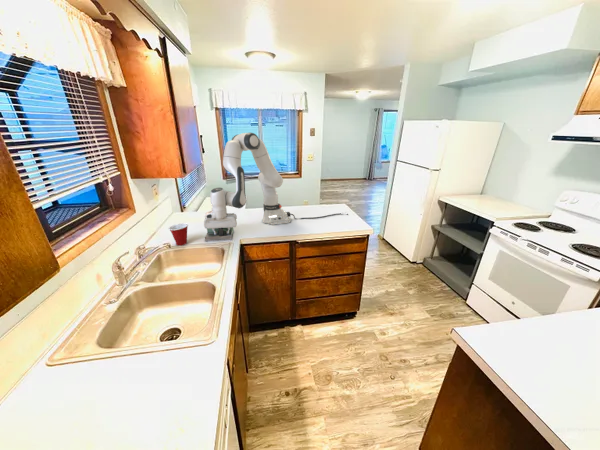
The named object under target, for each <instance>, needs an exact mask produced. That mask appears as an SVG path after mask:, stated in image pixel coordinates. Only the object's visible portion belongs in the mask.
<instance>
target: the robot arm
mask: <svg viewBox="0 0 600 450" xmlns="http://www.w3.org/2000/svg"><path fill="white" fill-rule="evenodd" d="M247 151H250V152H251V155H252V158H253V160H254V163H255V166H256V167H257V169H258V170H259V171H260V172H259V173H258V176H257V178H258V181H259V183H260V187H261V190H262V195H263V203H262V205H263V206H262V210H263V217H262V222H263V223H264V224H268V225H271V226H273V225H281V224H282V225H283V224H289V223H291V221H292V219H291V218H290V217H291V216H293V219H295V220H297V218H296V216H295V214H293V213H291V212H290V211H286V210H284V209H283V208H282V207H283V206H282V204H280V203H279V194H278V191H277V189H276V188H280V187H281V186H282V185H283V183H284V179H283V177H282V175H281V174H280V173H279V171H278V170H277V169H276V167H275V165H274V163H273V161H272V159H271V156H270V154H269V152H268V151H269V150H268V148H267V147H266V145H265V143H264V141H263V140H262V139H261V138H259V136H258V135H257V134H256V133H254V132H242V133H239V134H235V135H234V136H233V137H232V138H231V140H228V141H227V142H226V143H225V146H224V151H223V158H222V166H223V167H224V169H225V170H226V171H227V172H229V173H230V174H231V175H233V177H234V178H235V191H231V190H226V189H224V188H223V187H215V188H212V189H211V191H210V195H209V196H210V205H211V210H209V211H207V212H206V213H205V214H204V221H203V227H204V229H206V230H207V229H208V228H212V230H213V231H214V234H217V231H215V228H228V230H227V231H226V233H227V234H229V230H230V227H233V228H237V226H238V221H237V219H238V215H237V213H235V212H231V213H228V210H227V207H232V208H235V209H242V208H243V207H244V206H245V205H246V203H247V196H246V178H245V177H246V176H245V169H244V168H243V166H242V153H243V152H247ZM341 213H342V212H341ZM341 213H339V212H338V213H332V214H327V215H322V216H316V217H300V218H299V220H304V219H306V220H307V219H310V220H311V219H320V218H326V217H331V216H336V215H342V214H341ZM346 215H347V216H349V214H348V213H347V214H346Z"/></svg>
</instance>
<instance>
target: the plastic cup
mask: <svg viewBox="0 0 600 450" xmlns="http://www.w3.org/2000/svg"><path fill="white" fill-rule="evenodd" d="M188 226H189V224H188V223H184V222H183V223H177V224H173V225H171V226H169V227H168V230H169V231H170V232H171V235H172V237H173V240H174V241H175V244H176V246H178V247H179V246H185V245H186V244H187V243H188Z"/></svg>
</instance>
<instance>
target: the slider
mask: <svg viewBox="0 0 600 450" xmlns="http://www.w3.org/2000/svg"><path fill="white" fill-rule="evenodd" d="M223 234H224V230H223V228H219V235H223Z"/></svg>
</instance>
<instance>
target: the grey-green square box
mask: <svg viewBox="0 0 600 450" xmlns="http://www.w3.org/2000/svg"><path fill="white" fill-rule="evenodd" d="M223 230H224V234H223V235H219V228H215V231H217V234H214V231H213V230H212V228H208V229H206V232H207V233H206V234H205V236H204V240H205V242H215V241H216V242H218V241H231V240H232V238H233V234H234V227H230V230H229V234H227V233H226V231H227V230H228V228H223Z"/></svg>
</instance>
